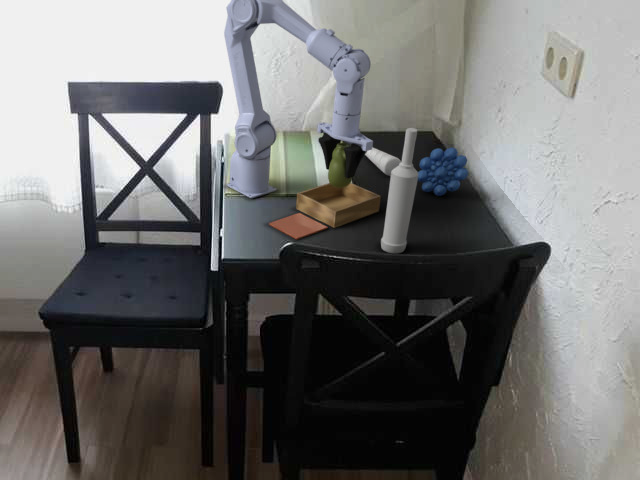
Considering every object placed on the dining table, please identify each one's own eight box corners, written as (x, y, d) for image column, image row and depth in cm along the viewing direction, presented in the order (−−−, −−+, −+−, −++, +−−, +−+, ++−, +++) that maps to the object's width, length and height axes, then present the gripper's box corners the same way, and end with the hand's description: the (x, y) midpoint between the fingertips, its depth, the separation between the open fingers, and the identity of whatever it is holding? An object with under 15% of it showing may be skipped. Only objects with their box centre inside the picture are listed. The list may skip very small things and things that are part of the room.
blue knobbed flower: (467, 194, 178) (477, 145, 172) (459, 204, 173) (469, 154, 167) (419, 184, 183) (427, 136, 176) (410, 193, 178) (418, 145, 172)
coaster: (268, 224, 164) (268, 223, 163) (299, 214, 168) (299, 212, 168) (296, 239, 158) (296, 238, 157) (327, 228, 162) (327, 226, 162)
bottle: (377, 242, 157) (394, 125, 143) (401, 241, 157) (420, 125, 143) (384, 254, 152) (402, 134, 139) (408, 253, 153) (429, 134, 139)
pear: (325, 182, 169) (330, 139, 164) (349, 182, 169) (354, 139, 164) (328, 192, 165) (332, 148, 159) (352, 192, 164) (357, 148, 159)
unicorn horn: (368, 143, 207) (370, 126, 204) (400, 176, 187) (403, 158, 184) (351, 144, 206) (353, 127, 203) (382, 177, 186) (385, 159, 184)
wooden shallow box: (295, 208, 171) (297, 193, 168) (339, 193, 178) (341, 178, 176) (334, 227, 162) (335, 211, 160) (378, 211, 170) (381, 195, 168)
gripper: (386, 117, 155) (377, 179, 162) (335, 99, 164) (329, 158, 172) (362, 123, 151) (354, 186, 159) (312, 105, 161) (307, 165, 168)
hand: (340, 172), depth 165 cm, fingers closed on pear, 5 cm apart
